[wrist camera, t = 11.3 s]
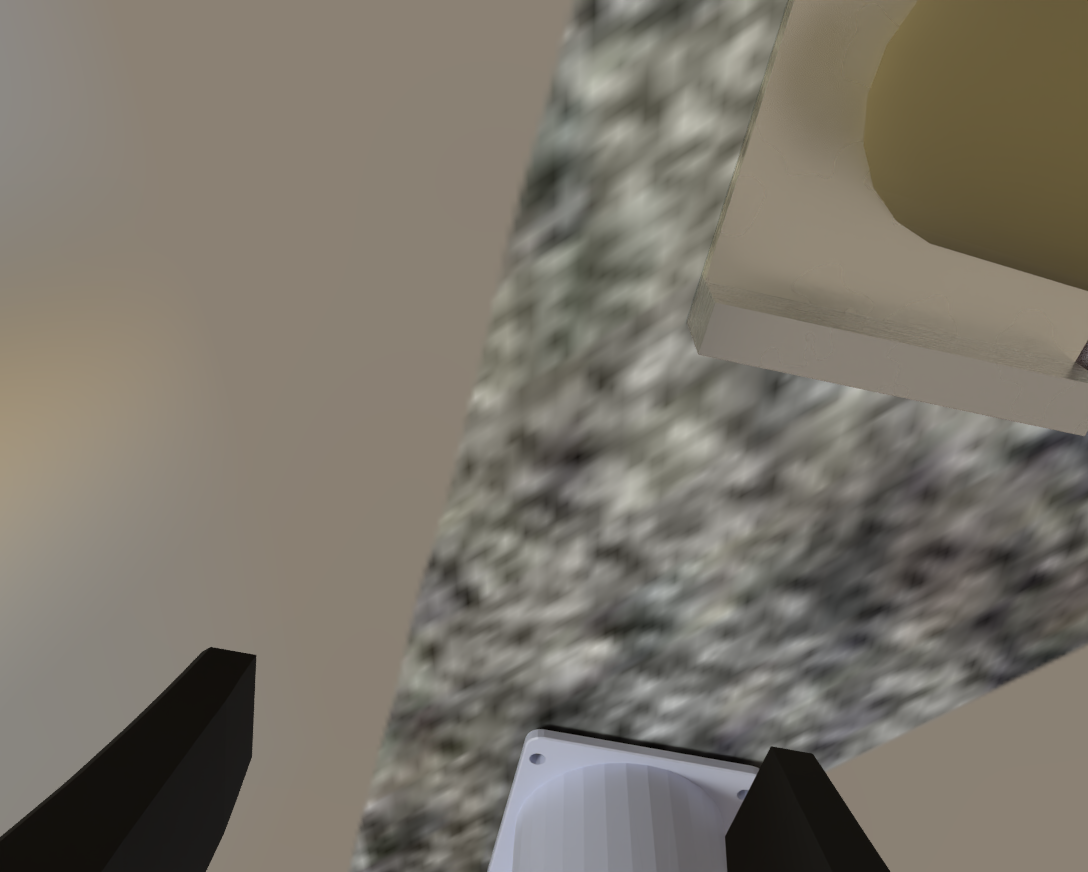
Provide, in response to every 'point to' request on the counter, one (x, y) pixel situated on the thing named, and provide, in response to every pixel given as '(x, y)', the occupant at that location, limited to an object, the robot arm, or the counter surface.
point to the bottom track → (869, 254)
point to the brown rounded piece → (987, 131)
